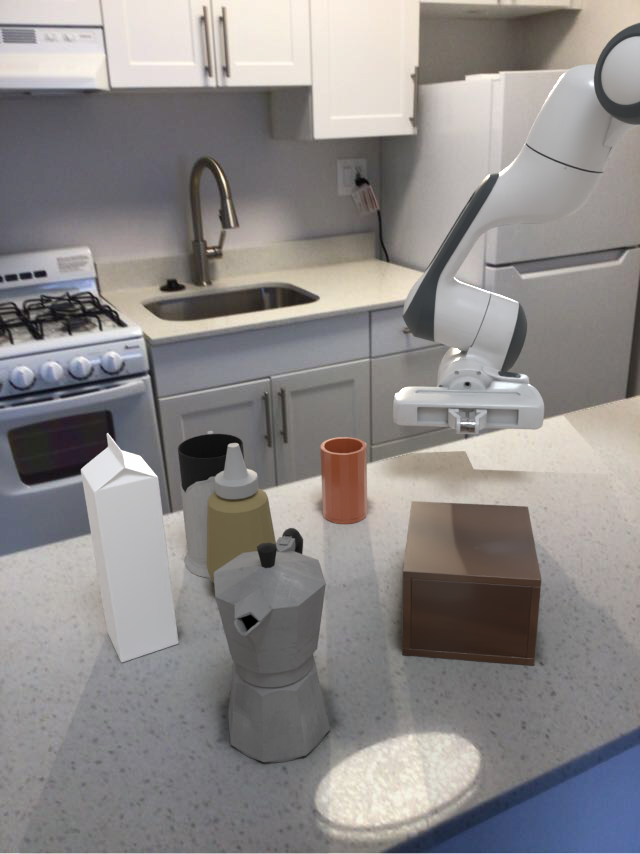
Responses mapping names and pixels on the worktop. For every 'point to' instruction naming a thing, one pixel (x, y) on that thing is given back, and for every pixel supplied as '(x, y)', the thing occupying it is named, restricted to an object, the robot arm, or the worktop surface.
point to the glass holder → (200, 490)
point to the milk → (130, 552)
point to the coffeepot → (273, 649)
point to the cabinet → (470, 583)
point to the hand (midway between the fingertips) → (467, 428)
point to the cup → (344, 479)
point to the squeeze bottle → (236, 513)
